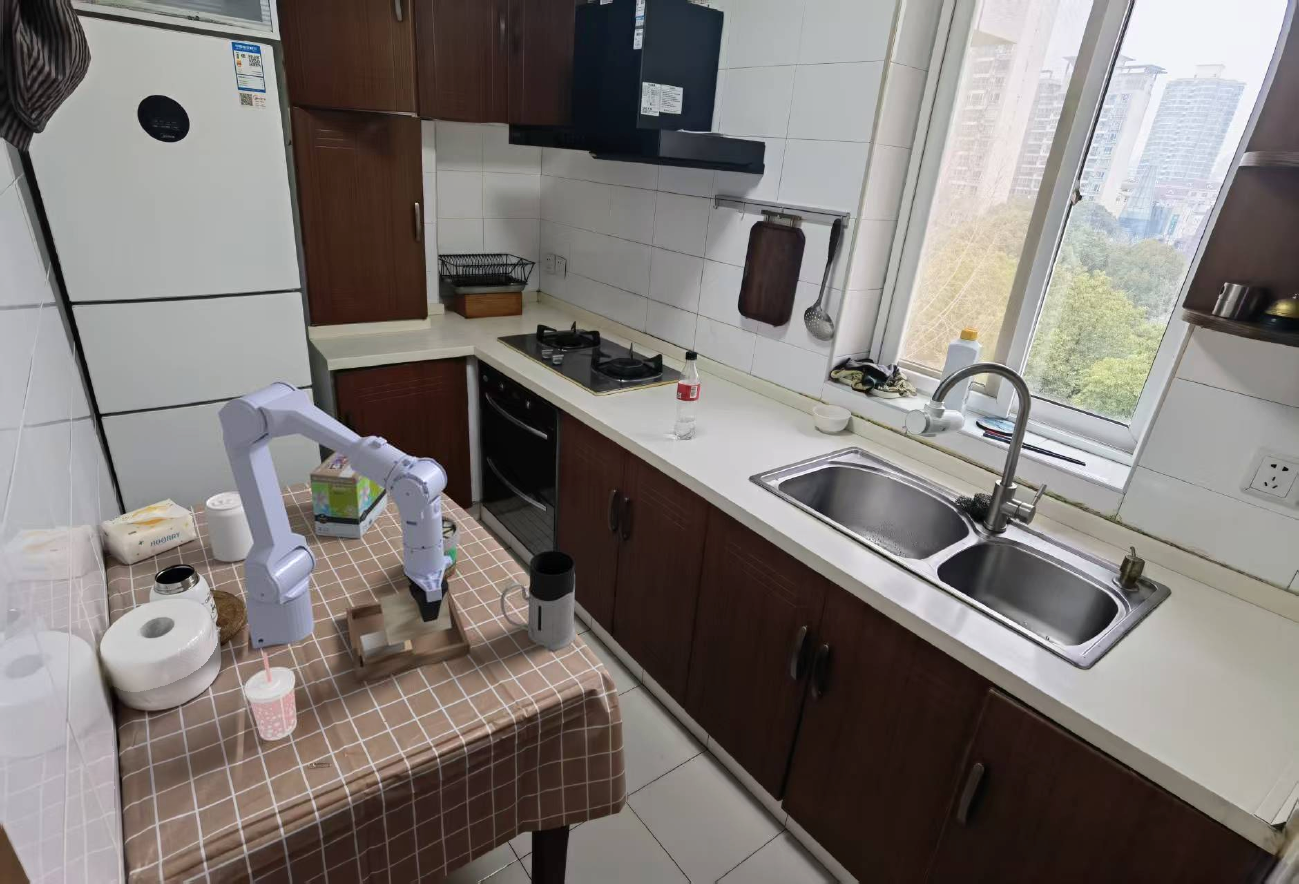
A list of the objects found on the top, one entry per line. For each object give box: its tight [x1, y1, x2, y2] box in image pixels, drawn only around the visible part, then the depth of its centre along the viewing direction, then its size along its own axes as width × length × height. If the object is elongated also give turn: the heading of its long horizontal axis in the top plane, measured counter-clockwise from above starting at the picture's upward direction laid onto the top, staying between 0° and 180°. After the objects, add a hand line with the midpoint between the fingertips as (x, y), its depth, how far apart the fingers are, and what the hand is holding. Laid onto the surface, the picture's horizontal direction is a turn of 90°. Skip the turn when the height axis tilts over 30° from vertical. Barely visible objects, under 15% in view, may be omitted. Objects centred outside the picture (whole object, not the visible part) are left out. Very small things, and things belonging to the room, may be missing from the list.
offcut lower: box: [360, 640, 413, 667], centre depth 109 cm, size 8×4×2 cm, turn 117°
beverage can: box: [203, 491, 254, 563], centre depth 132 cm, size 8×8×12 cm
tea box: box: [309, 451, 388, 539], centre depth 146 cm, size 15×10×15 cm
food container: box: [442, 515, 461, 580], centre depth 131 cm, size 12×6×10 cm, turn 168°
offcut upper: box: [360, 630, 405, 661], centre depth 108 cm, size 6×4×2 cm, turn 121°
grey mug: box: [500, 550, 577, 652], centre depth 114 cm, size 9×14×15 cm, turn 132°
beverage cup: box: [243, 651, 298, 741], centre depth 93 cm, size 6×6×14 cm
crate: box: [345, 588, 471, 684], centre depth 115 cm, size 18×17×3 cm
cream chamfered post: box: [379, 589, 452, 646], centre depth 105 cm, size 10×3×7 cm, turn 118°
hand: (428, 612), depth 106 cm, fingers closed on cream chamfered post, 3 cm apart
